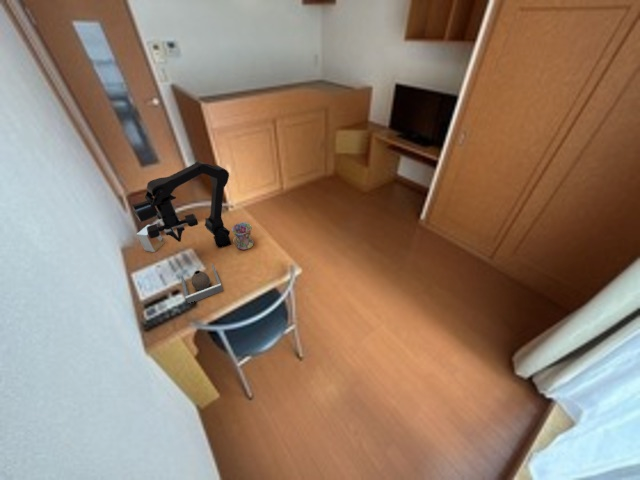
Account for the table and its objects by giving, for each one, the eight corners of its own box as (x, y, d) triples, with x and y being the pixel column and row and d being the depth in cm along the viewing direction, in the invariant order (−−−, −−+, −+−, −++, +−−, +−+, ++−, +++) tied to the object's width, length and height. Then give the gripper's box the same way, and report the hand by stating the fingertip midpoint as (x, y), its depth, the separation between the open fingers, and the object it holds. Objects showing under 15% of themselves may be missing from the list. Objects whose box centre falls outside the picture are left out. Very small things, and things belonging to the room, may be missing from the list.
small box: (155, 252, 129) (146, 235, 122) (145, 251, 130) (135, 234, 123) (165, 242, 135) (157, 225, 128) (156, 240, 136) (147, 224, 129)
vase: (215, 283, 114) (209, 268, 108) (204, 295, 109) (198, 280, 103) (201, 279, 116) (195, 264, 110) (190, 290, 111) (184, 275, 105)
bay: (215, 270, 120) (213, 264, 117) (223, 290, 111) (221, 284, 108) (183, 281, 114) (180, 275, 112) (188, 304, 105) (185, 298, 103)
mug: (242, 237, 138) (239, 220, 132) (258, 241, 136) (255, 224, 129) (228, 252, 129) (223, 234, 123) (245, 256, 127) (241, 239, 120)
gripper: (187, 196, 116) (197, 225, 126) (139, 208, 108) (153, 238, 118) (192, 208, 109) (203, 237, 119) (141, 222, 101) (157, 252, 111)
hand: (179, 241), depth 117 cm, fingers closed
